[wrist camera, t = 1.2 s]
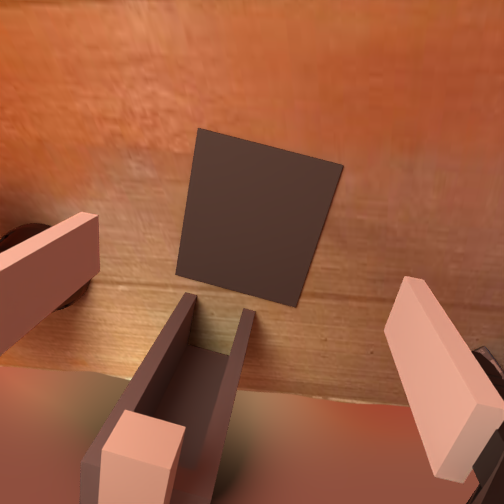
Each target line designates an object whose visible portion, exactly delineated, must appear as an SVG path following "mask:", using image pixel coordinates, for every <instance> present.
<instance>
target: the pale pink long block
mask: <svg viewBox="0 0 504 504" xmlns="http://www.w3.org/2000/svg"><path fill="white" fill-rule="evenodd" d="M185 428H186V427H184V426H181V425H177V424H174V423H170V422H167V421H163V420H160V419H156V418H153V417H149V416H146V415H142V414H139V413H135V412H132V411H128V410H124V412H123V414H122V416H121V417H120V419H119V421H118V422H117V424H116V426H115V428H114V429H113V431H112V433H111V435H110V436H109V438H108V440H107V441H106V443H105V445H104V447H103V448H102V453H101V468H100V482H99V497H98V504H170V499H171V494H172V489H173V485H174V480H175V475H176V471H177V466H178V461H179V457H180V452H181V447H182V442H183V438H184V433H185Z"/></svg>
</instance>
